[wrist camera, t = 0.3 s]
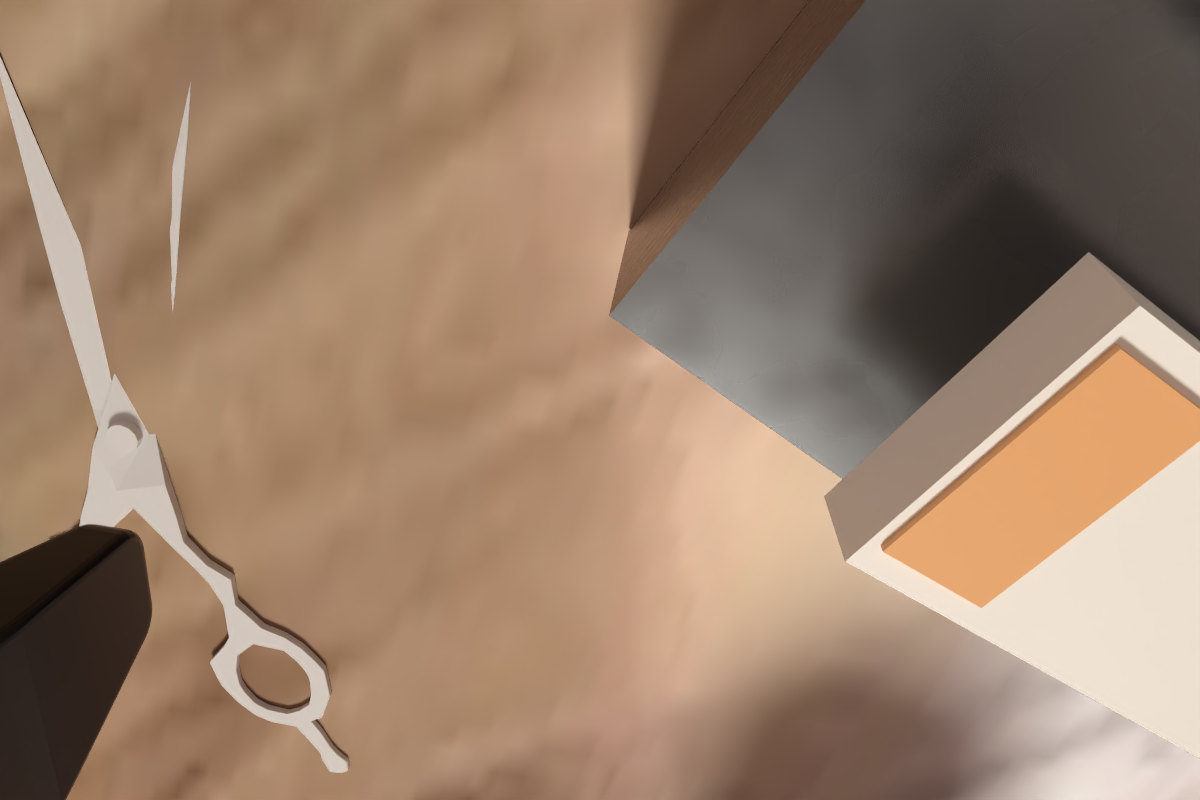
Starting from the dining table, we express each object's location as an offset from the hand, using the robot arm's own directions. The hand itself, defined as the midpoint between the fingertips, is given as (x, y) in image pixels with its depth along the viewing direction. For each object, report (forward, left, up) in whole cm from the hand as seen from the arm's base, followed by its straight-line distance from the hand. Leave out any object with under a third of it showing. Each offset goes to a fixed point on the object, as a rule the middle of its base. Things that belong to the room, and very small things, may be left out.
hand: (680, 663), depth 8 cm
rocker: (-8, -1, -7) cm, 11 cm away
